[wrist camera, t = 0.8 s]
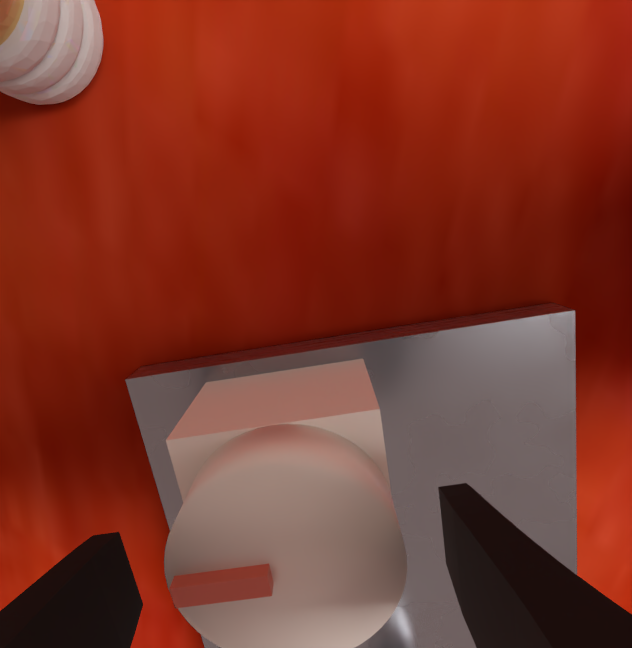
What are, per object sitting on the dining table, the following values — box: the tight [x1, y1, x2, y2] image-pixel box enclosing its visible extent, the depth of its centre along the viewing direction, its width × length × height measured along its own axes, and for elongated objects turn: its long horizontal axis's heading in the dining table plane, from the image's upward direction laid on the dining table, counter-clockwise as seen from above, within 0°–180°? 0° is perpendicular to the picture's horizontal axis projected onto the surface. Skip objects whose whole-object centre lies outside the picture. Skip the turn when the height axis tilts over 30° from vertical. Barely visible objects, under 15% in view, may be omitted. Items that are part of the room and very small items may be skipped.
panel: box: [125, 303, 577, 648], centre depth 14 cm, size 14×18×4 cm
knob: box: [164, 359, 407, 648], centre depth 11 cm, size 5×5×5 cm
